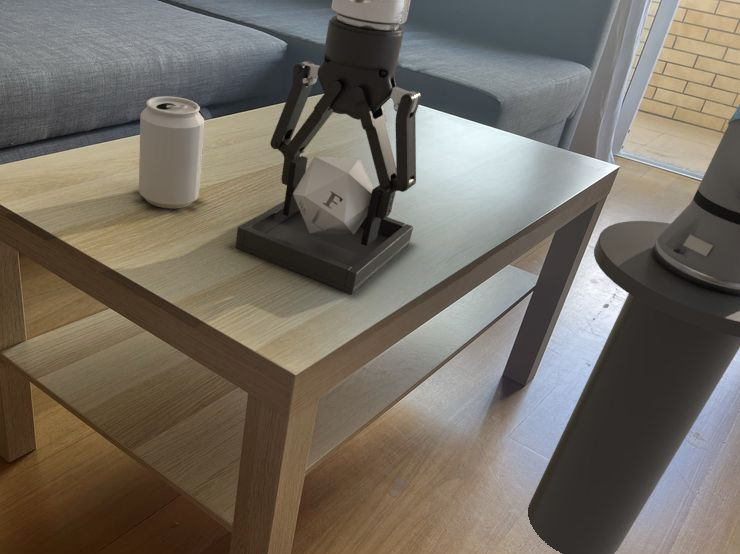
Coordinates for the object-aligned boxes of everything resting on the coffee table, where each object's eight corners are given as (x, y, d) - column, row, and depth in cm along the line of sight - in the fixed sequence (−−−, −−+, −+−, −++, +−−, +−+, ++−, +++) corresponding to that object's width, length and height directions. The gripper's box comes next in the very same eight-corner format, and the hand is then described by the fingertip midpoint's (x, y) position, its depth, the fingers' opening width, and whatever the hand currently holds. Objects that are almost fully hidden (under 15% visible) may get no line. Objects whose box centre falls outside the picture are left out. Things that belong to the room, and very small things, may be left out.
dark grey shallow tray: (408, 245, 89) (413, 226, 87) (351, 294, 77) (356, 273, 76) (303, 207, 94) (306, 188, 93) (235, 247, 82) (237, 226, 81)
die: (273, 223, 85) (293, 179, 76) (311, 171, 88) (335, 123, 79) (333, 264, 85) (361, 225, 76) (369, 210, 88) (400, 167, 79)
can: (160, 181, 95) (164, 88, 88) (209, 197, 93) (217, 104, 86) (126, 199, 89) (127, 101, 82) (178, 217, 87) (183, 117, 80)
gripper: (252, -1, 73) (232, 205, 85) (461, 52, 65) (403, 270, 77) (290, -6, 78) (265, 188, 91) (486, 42, 70) (429, 247, 83)
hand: (329, 226), depth 84 cm, fingers closed on die, 10 cm apart
